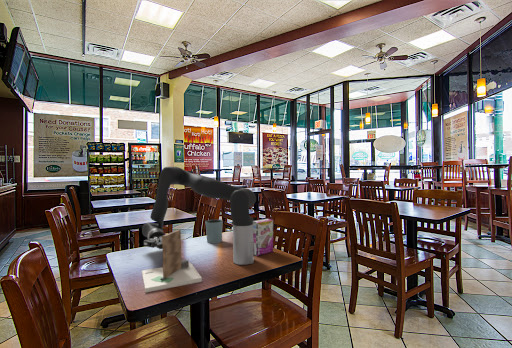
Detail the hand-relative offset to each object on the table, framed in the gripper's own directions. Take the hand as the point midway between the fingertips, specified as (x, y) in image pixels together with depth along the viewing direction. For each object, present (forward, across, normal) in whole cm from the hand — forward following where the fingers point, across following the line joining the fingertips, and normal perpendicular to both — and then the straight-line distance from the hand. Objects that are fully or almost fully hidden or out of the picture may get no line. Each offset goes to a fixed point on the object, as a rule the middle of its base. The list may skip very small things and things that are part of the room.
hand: (161, 246), depth 119 cm
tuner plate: (+10, +2, +10) cm, 14 cm away
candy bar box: (-1, +48, +10) cm, 49 cm away
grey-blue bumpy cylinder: (-32, +34, +10) cm, 48 cm away
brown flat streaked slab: (+9, +4, +8) cm, 13 cm away
